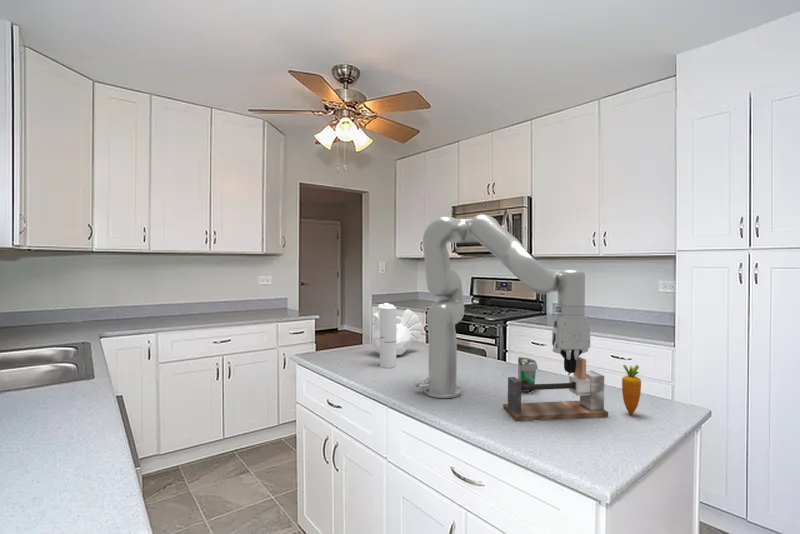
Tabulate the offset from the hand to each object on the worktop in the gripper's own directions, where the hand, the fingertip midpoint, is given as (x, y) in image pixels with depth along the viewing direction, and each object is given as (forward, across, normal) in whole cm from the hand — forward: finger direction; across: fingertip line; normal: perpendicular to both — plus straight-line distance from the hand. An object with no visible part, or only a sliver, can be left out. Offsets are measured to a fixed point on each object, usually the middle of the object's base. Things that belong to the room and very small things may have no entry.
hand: (569, 371), depth 124 cm
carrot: (+12, +17, -4) cm, 22 cm away
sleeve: (+6, +3, 0) cm, 7 cm away
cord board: (+12, -5, 0) cm, 13 cm away
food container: (+12, -3, +22) cm, 25 cm away
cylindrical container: (+12, -49, +59) cm, 78 cm away
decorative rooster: (+13, -42, +79) cm, 90 cm away
